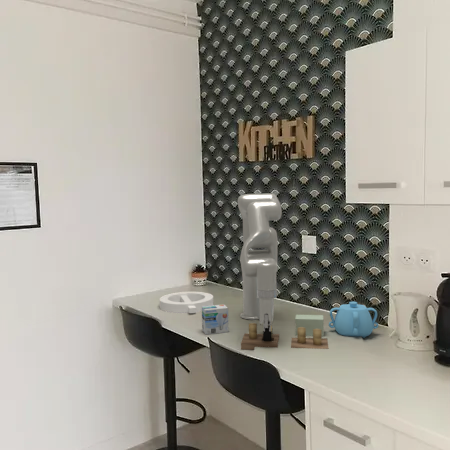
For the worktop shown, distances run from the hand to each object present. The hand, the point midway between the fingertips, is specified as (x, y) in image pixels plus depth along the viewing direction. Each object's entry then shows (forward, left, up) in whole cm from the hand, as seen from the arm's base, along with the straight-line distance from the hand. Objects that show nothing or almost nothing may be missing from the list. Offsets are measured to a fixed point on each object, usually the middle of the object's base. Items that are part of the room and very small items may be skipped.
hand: (267, 339), depth 191 cm
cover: (-13, +16, -3) cm, 21 cm away
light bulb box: (-17, -24, -3) cm, 29 cm away
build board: (-1, -3, -3) cm, 4 cm away
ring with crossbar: (-59, -47, -3) cm, 75 cm away
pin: (0, 0, -3) cm, 3 cm away
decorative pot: (-17, +34, -3) cm, 38 cm away
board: (-1, +16, -3) cm, 16 cm away
